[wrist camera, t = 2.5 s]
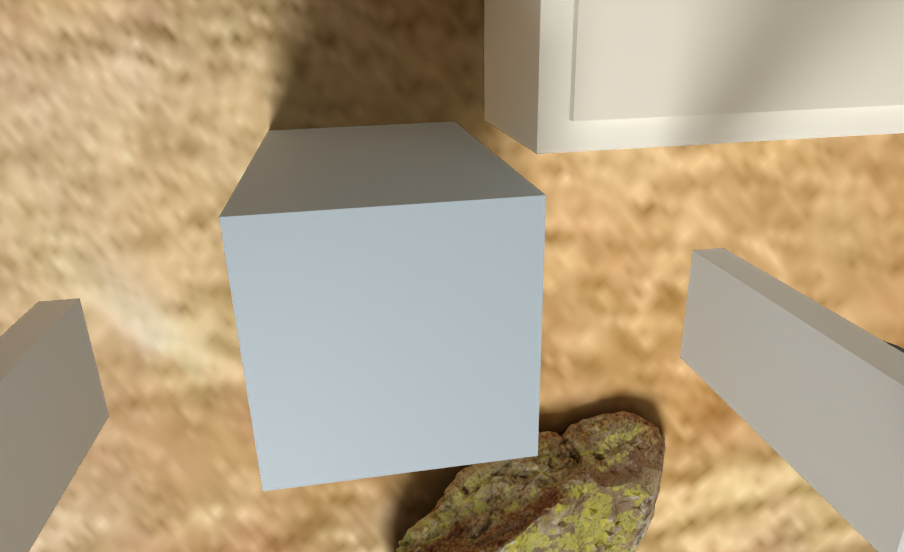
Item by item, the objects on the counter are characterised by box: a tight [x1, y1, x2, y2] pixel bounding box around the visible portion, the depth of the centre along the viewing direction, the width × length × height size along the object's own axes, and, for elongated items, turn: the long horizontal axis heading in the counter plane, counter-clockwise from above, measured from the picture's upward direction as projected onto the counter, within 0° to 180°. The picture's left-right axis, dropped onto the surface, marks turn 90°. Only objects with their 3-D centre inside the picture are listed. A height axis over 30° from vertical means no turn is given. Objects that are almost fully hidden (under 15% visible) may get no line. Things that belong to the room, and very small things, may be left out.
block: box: [219, 121, 546, 491], centre depth 18 cm, size 6×6×10 cm
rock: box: [395, 411, 666, 552], centre depth 27 cm, size 12×7×10 cm
